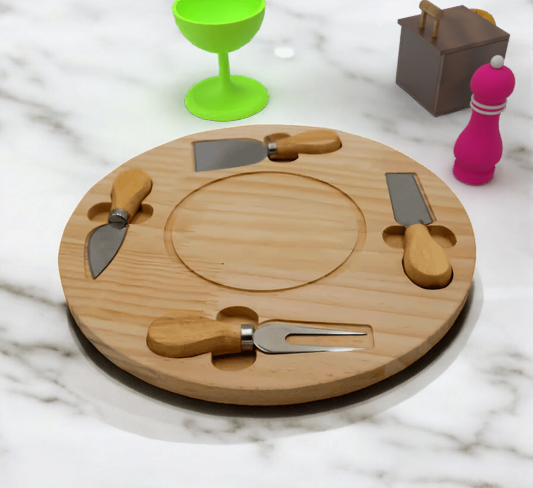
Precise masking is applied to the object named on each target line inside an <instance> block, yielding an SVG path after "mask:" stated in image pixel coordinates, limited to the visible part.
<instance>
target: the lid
mask: <svg viewBox="0 0 533 488" xmlns="http://www.w3.org/2000/svg"><path fill="white" fill-rule="evenodd" d="M418 8H419V10H420V11H421V12H420V14H414V15H410V16H406V17H402V18H398V19H397V23H396V24H397V25H399V26H400V27H401V26H402V27H403V28H404V29H406V30H407V31H408V32H410V33H411V34H412V35H414V36H415V37H416V38H418V39H419V40H420V41H422V42H423V43H425V44H426V45H427V46H429V47H430V48H431V49H433V50H434V51H435V52H437V53H438V54H439V55H444V54H448V53H452V52H456V51H460V50H465V49H469V48H473V47H477V46H481V45H485V44H490V43H494V42H498V41H502V40H506V39H509V40H510V38H511V33H509V32H508V31H505V30H504V29H503V28H501V27H499V26H497V24H496V25H494V24H493V23H491V22H489V21H488V20H486V19H485V18H483V17H481V16H480V15H478V14H477V13H475V12H473V11H472V10H470V9H471V8H469V7H468V6H466V5H464V4H461V5H456V6H452V7H447V8H442V9H441V8H440V7H439V6H437V5H435V4H434V3H433V2H431V1H430V0H421V1H420V2H419V4H418Z"/></svg>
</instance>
